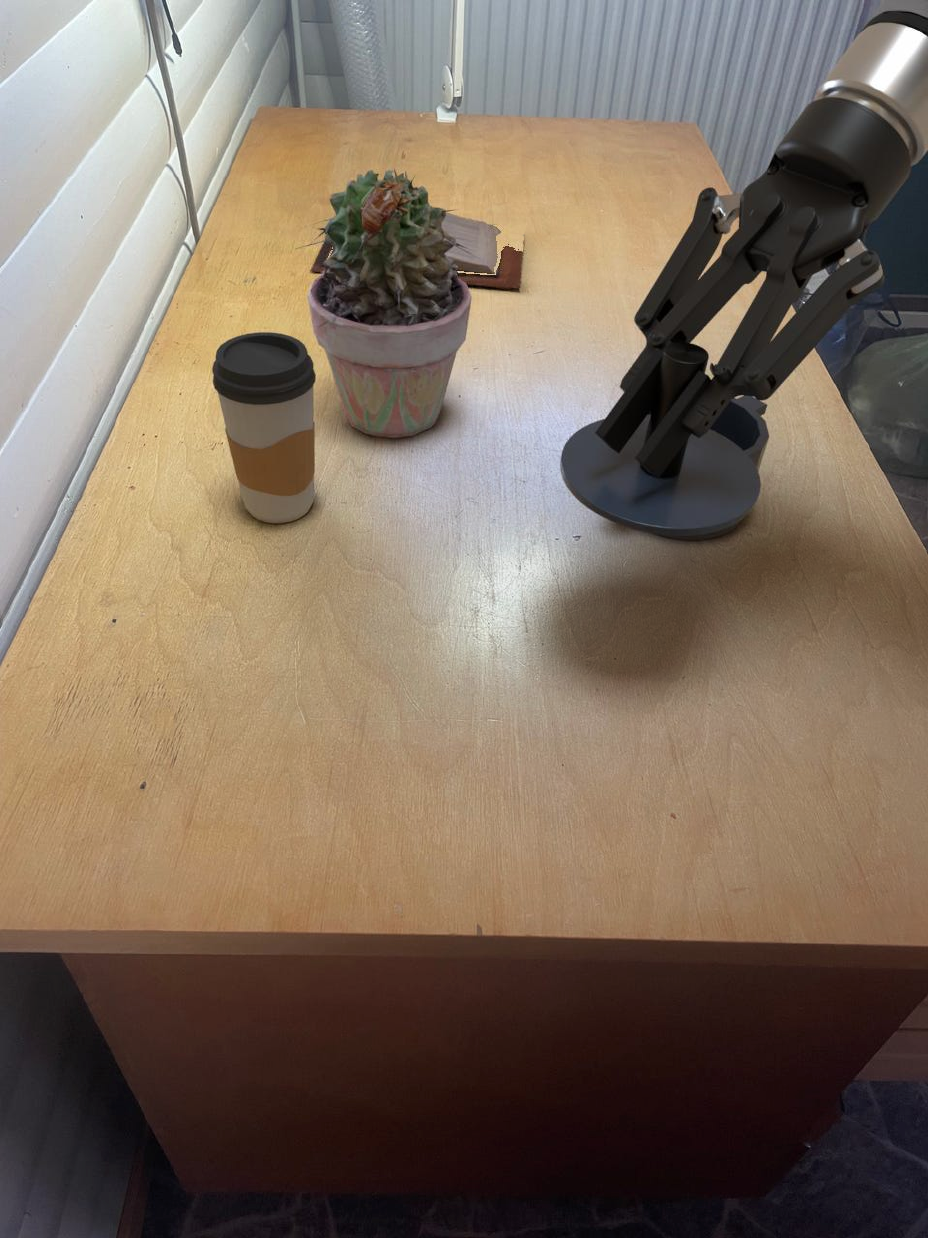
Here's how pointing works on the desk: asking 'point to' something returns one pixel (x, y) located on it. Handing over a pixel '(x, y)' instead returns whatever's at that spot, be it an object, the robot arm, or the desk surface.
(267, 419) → the coffee cup
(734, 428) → the pot
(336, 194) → the potted plant
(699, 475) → the lid
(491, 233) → the book
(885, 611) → the desk surface
